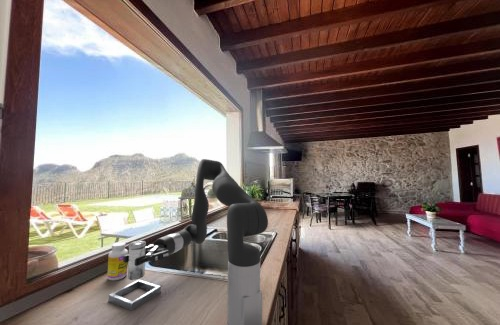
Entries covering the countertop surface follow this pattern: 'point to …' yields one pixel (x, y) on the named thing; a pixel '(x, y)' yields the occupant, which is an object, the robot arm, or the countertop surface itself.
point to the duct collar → (131, 305)
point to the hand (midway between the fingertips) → (129, 261)
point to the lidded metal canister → (135, 252)
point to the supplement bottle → (117, 262)
